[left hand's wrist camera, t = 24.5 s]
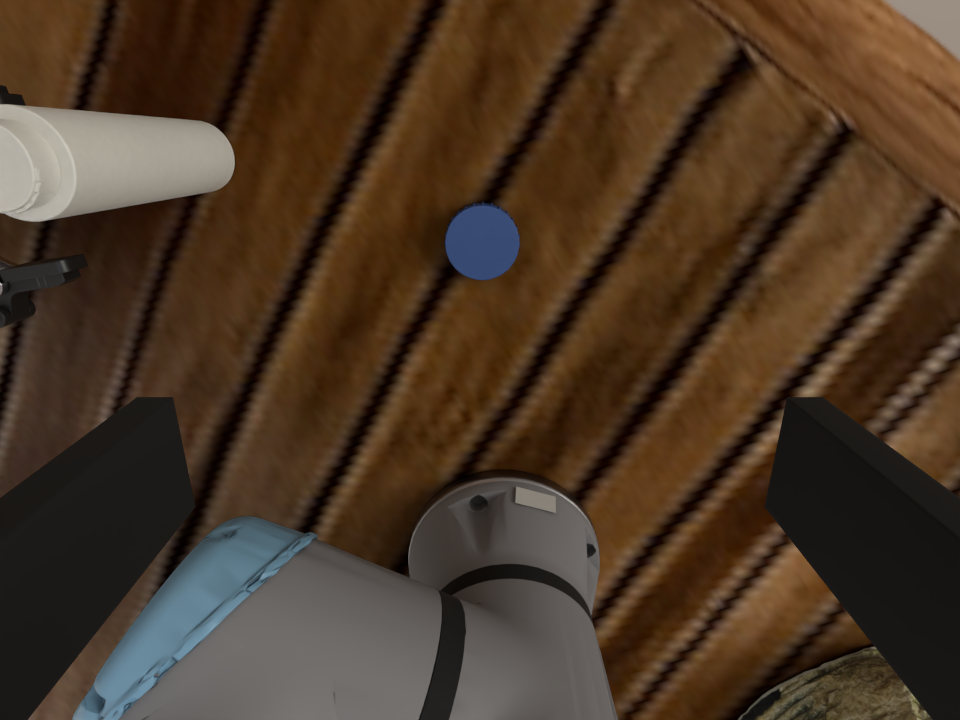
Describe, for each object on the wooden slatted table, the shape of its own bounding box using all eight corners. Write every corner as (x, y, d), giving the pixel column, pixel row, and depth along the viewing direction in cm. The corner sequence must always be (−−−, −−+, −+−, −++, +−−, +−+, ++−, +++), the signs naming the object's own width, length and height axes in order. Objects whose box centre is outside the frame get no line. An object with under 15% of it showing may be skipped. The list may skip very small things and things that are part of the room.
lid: (528, 215, 38) (531, 218, 37) (505, 284, 40) (506, 290, 38) (457, 191, 38) (456, 193, 36) (436, 263, 39) (434, 268, 38)
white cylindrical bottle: (167, 185, 37) (-67, 215, 21) (166, 114, 36) (-85, 89, 20) (234, 197, 38) (53, 236, 22) (236, 127, 36) (43, 114, 20)
